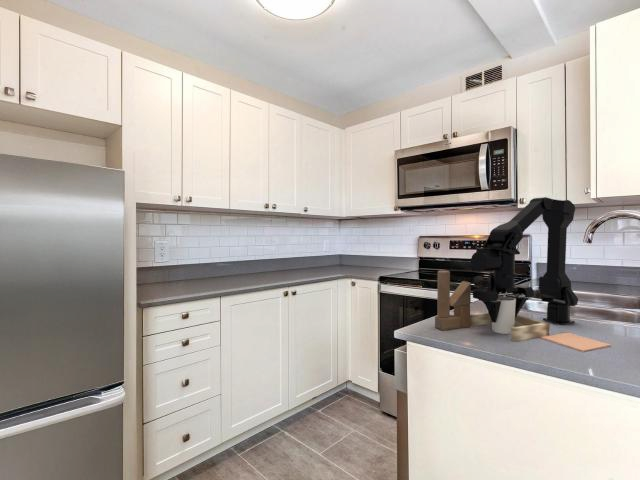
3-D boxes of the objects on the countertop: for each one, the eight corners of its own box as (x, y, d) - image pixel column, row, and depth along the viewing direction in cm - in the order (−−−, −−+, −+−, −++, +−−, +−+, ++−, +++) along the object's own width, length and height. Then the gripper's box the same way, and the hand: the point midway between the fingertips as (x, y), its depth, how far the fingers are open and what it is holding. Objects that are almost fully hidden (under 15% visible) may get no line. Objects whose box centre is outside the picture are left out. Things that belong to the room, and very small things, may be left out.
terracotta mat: (567, 333, 98) (567, 332, 98) (611, 346, 88) (611, 344, 88) (540, 338, 95) (540, 337, 95) (582, 351, 84) (583, 350, 84)
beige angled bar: (501, 320, 112) (501, 310, 112) (549, 335, 97) (549, 323, 97) (469, 325, 108) (469, 314, 108) (514, 341, 92) (514, 328, 92)
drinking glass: (485, 329, 103) (486, 297, 103) (499, 326, 106) (500, 295, 106) (506, 335, 97) (506, 301, 97) (520, 332, 100) (521, 299, 100)
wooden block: (470, 327, 106) (471, 270, 105) (442, 330, 102) (442, 272, 102) (462, 324, 109) (462, 269, 109) (434, 327, 106) (434, 270, 105)
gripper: (503, 265, 112) (503, 311, 112) (459, 268, 105) (459, 317, 106) (535, 269, 101) (534, 320, 102) (488, 272, 95) (487, 327, 96)
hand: (503, 321), depth 102 cm, fingers open, 7 cm apart
